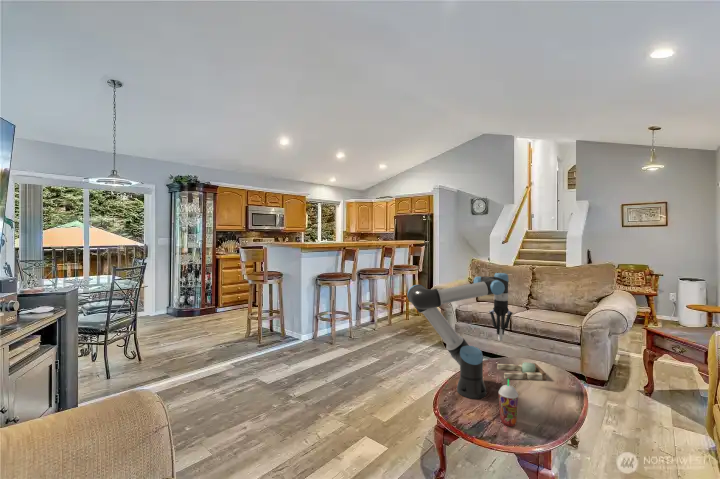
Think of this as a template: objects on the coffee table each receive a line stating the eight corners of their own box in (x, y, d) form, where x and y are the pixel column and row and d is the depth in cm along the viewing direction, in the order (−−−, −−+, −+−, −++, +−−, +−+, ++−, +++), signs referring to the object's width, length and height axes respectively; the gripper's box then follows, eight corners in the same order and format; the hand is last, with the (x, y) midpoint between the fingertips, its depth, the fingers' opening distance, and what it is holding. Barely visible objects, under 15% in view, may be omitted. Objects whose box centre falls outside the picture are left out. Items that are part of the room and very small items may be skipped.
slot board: (504, 378, 199) (504, 372, 198) (497, 368, 213) (497, 362, 213) (546, 380, 196) (545, 373, 196) (535, 369, 211) (535, 363, 211)
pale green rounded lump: (523, 375, 202) (523, 365, 202) (521, 371, 209) (521, 361, 209) (536, 377, 200) (536, 366, 200) (534, 372, 206) (533, 362, 207)
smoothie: (509, 430, 147) (508, 385, 147) (494, 420, 155) (494, 377, 155) (522, 425, 151) (522, 381, 150) (507, 416, 158) (507, 374, 158)
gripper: (491, 300, 193) (490, 341, 194) (515, 301, 192) (514, 342, 192) (487, 298, 201) (486, 337, 201) (510, 298, 199) (509, 338, 200)
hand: (500, 339), depth 197 cm, fingers closed
